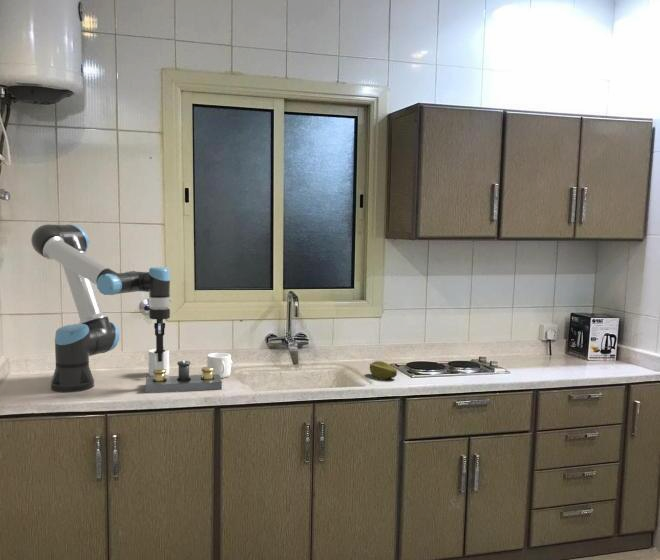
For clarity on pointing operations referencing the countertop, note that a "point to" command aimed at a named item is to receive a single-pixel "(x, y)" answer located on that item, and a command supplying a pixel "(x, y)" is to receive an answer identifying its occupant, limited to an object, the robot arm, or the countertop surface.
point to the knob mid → (183, 370)
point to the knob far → (207, 373)
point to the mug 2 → (220, 363)
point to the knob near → (159, 375)
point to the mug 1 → (153, 361)
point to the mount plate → (183, 384)
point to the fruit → (382, 370)
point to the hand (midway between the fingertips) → (159, 369)
